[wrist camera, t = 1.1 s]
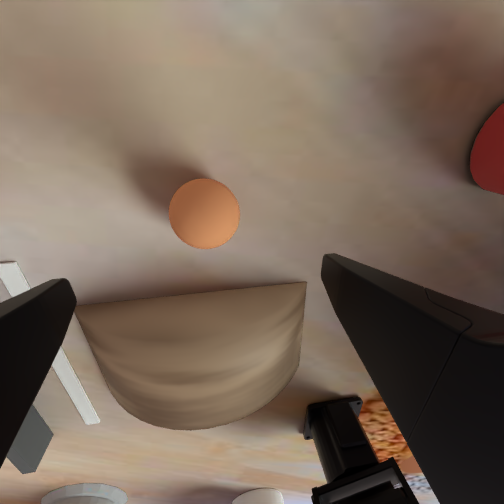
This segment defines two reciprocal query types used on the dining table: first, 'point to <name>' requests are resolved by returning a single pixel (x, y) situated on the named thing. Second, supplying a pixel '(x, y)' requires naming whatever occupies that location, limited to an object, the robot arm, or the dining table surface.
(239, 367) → the hump
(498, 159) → the beer can
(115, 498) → the french press
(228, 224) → the ball
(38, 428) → the bar
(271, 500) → the mug
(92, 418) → the line
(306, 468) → the dining table surface
